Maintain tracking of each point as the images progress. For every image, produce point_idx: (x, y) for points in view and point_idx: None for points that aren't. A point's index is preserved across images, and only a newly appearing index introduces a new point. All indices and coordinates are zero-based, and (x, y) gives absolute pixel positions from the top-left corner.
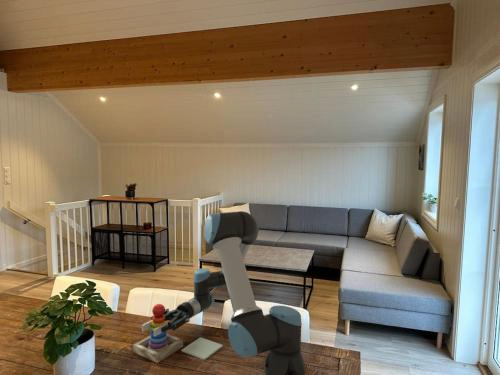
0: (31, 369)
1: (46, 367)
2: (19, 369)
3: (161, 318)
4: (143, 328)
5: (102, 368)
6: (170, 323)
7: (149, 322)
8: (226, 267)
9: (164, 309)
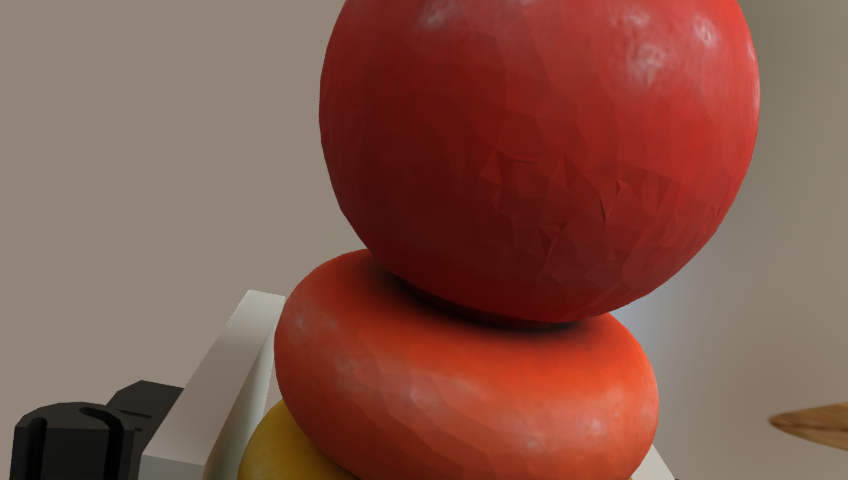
0: (807, 414)
1: (786, 432)
2: (839, 408)
3: (317, 269)
4: None
5: None
6: (11, 477)
7: None
8: None
9: (350, 24)
